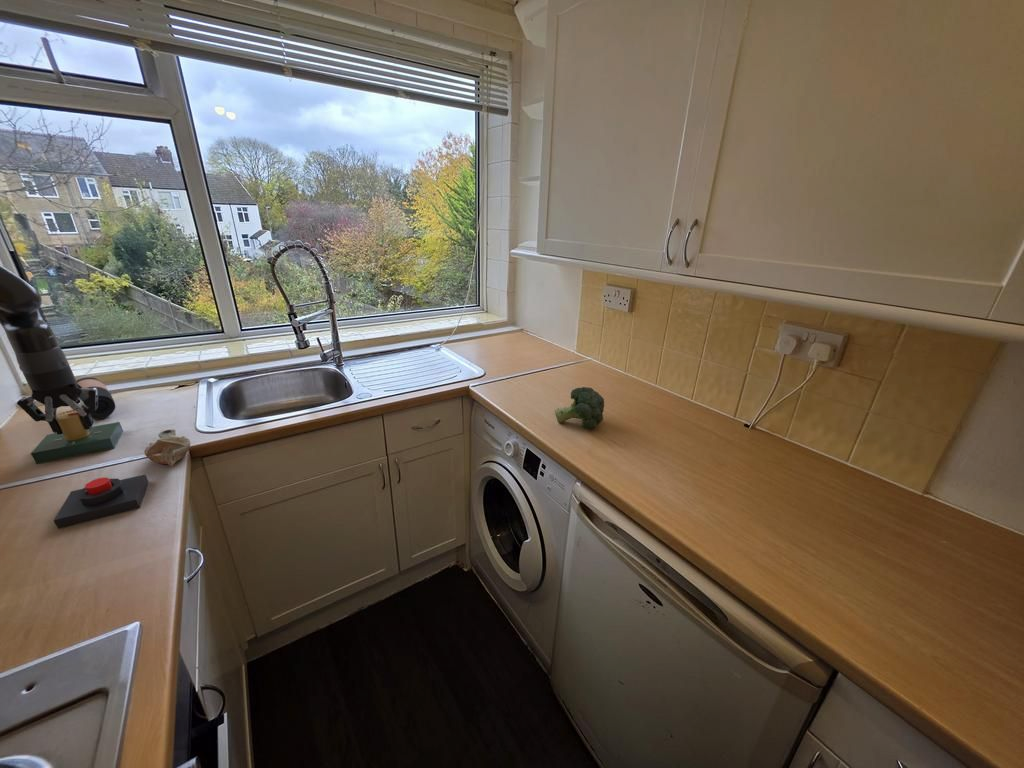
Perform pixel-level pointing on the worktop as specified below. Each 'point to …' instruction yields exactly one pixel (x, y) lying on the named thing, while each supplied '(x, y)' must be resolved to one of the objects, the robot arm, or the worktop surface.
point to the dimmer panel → (77, 443)
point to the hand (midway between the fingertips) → (75, 430)
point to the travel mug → (104, 397)
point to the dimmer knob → (72, 426)
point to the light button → (98, 486)
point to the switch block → (102, 502)
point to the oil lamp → (168, 448)
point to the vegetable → (583, 408)
